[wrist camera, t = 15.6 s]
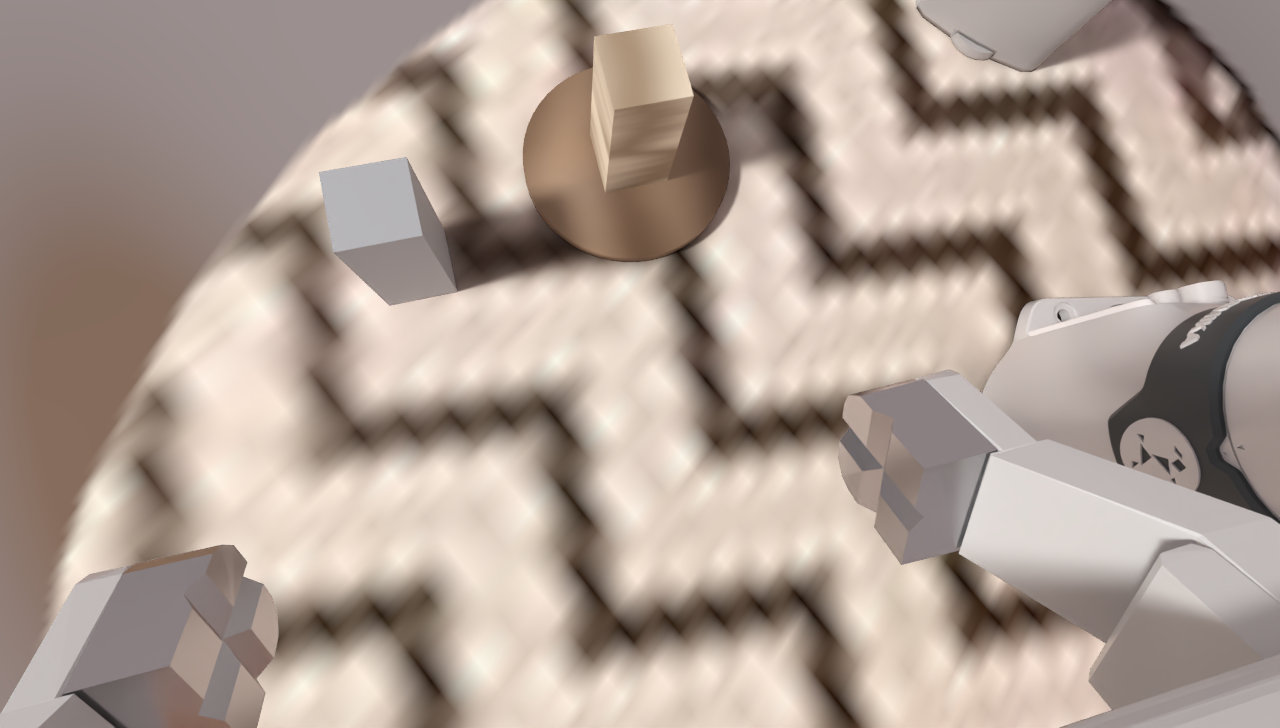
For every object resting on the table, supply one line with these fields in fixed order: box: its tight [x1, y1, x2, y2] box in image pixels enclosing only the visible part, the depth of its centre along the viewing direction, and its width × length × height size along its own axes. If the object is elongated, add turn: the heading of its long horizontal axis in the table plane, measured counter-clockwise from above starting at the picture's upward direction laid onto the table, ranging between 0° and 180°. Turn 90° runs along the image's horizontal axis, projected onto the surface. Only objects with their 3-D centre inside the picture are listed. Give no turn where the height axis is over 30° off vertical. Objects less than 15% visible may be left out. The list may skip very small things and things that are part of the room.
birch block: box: [590, 24, 694, 193], centre depth 36 cm, size 4×4×9 cm
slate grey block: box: [319, 157, 457, 306], centre depth 34 cm, size 4×4×9 cm
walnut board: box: [523, 68, 730, 262], centre depth 40 cm, size 13×13×1 cm
